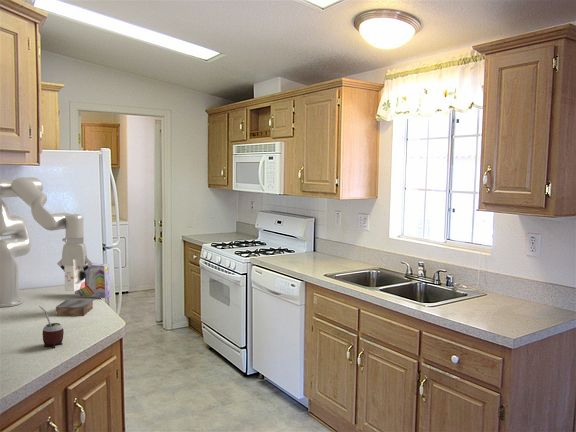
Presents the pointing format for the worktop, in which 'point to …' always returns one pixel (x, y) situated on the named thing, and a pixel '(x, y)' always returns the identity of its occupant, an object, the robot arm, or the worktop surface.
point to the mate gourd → (52, 333)
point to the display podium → (74, 307)
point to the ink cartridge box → (73, 277)
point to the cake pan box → (96, 282)
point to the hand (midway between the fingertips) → (75, 279)
